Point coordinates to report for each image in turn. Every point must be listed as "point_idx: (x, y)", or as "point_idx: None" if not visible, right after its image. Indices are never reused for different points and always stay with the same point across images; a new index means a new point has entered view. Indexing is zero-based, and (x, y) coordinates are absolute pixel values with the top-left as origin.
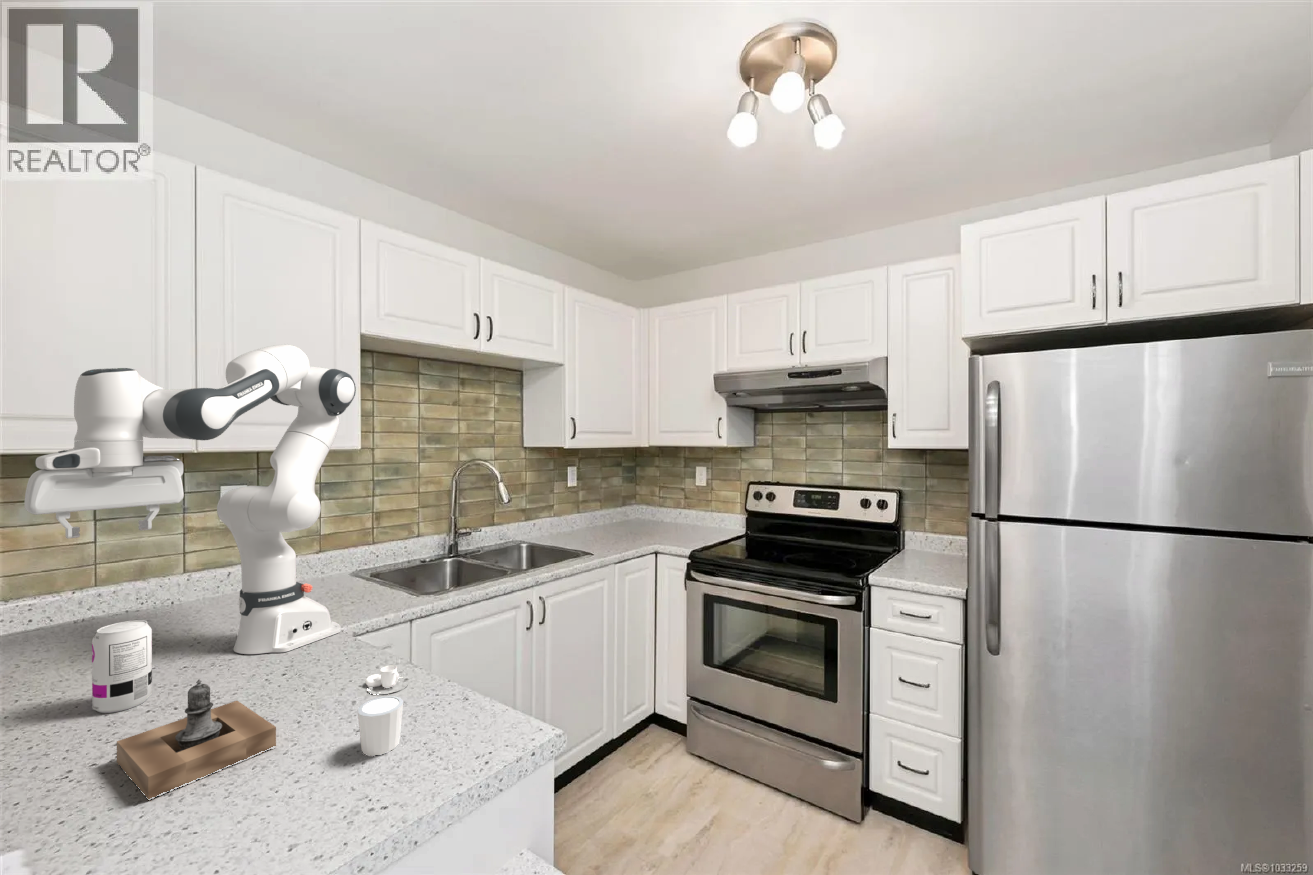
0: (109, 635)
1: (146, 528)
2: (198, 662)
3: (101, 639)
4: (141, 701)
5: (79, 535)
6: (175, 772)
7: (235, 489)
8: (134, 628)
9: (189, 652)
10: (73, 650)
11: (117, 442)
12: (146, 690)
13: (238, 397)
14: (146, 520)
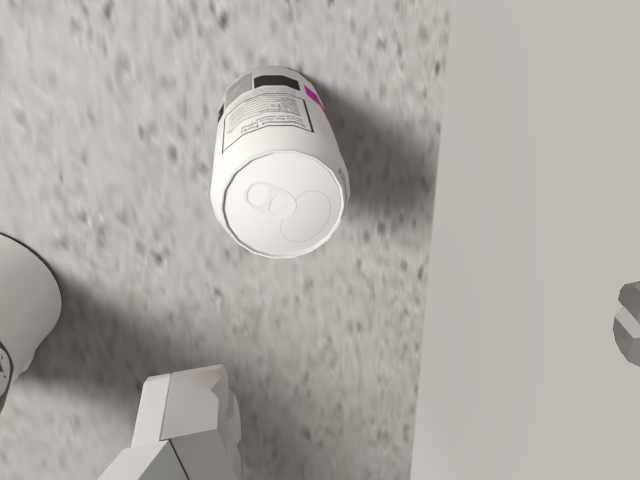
0: (315, 153)
1: (182, 374)
2: (133, 269)
3: (332, 156)
4: (237, 77)
5: (636, 285)
6: None
7: None
8: (253, 157)
9: (154, 341)
10: (336, 457)
11: None
12: (227, 93)
13: None
14: (175, 451)
